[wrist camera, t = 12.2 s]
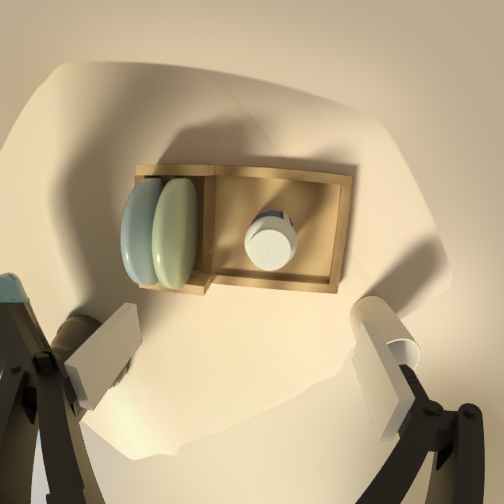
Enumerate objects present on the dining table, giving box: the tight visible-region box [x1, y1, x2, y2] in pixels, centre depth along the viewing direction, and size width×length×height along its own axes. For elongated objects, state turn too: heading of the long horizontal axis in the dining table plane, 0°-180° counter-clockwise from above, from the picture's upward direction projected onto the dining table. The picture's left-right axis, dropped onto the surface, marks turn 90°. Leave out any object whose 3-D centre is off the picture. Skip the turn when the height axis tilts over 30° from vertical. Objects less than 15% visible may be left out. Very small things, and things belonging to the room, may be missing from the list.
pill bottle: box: [245, 208, 297, 271], centre depth 32 cm, size 5×5×10 cm
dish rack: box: [135, 164, 352, 296], centre depth 35 cm, size 25×15×6 cm, turn 87°
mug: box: [349, 296, 421, 371], centre depth 34 cm, size 10×7×12 cm, turn 179°
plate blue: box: [120, 178, 166, 286], centre depth 31 cm, size 1×12×12 cm, turn 176°
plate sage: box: [152, 178, 199, 290], centre depth 31 cm, size 1×12×12 cm, turn 176°
